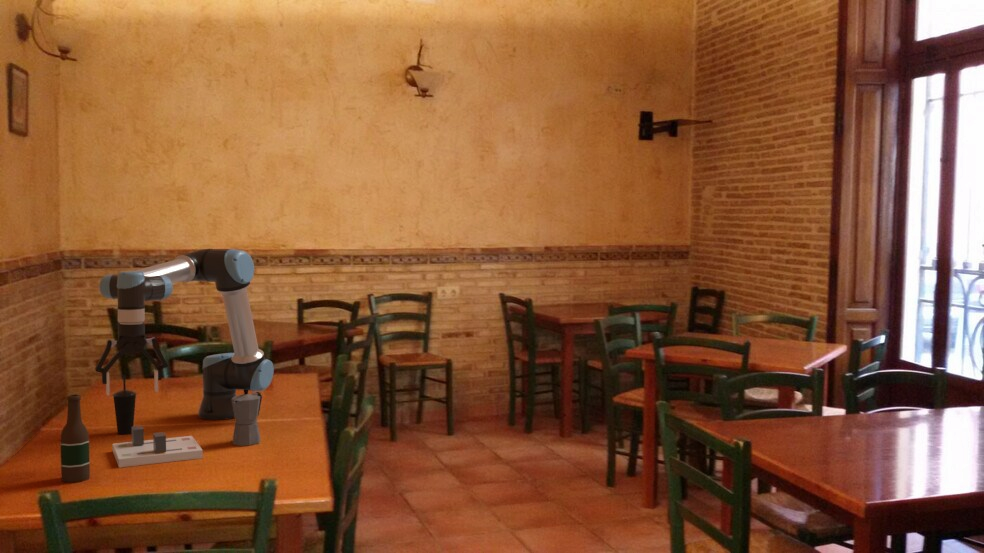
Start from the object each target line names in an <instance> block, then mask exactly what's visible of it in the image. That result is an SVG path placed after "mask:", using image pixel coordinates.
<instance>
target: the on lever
mask: <svg viewBox="0 0 984 553" xmlns="http://www.w3.org/2000/svg"><path fill="white" fill-rule="evenodd" d="M144 433H145V432H144V427H143V425H133V426H132V433H131V442H132V443H133V445H134V446H135V445H144V441H145V439H144V438H145V434H144Z"/></svg>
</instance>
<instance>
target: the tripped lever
mask: <svg viewBox="0 0 984 553" xmlns="http://www.w3.org/2000/svg"><path fill="white" fill-rule="evenodd" d="M152 436H153V439H152V440H153V447H154V451H155V453H161V452H166V438H167V436H166V434H165V432H164V431H163V432H162V431H161V432H153V433H152Z"/></svg>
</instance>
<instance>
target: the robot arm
mask: <svg viewBox="0 0 984 553" xmlns="http://www.w3.org/2000/svg"><path fill="white" fill-rule="evenodd" d="M254 272H255V264H254V261H253V259H252V256H251V255H250V254H249V253H248V252H246V251H245V250H242V249H236V248H230V249H229V248H228V249H227V248H221V249H220V248H204V249H199V250H194V251H191V252H186V253H183V254H180V255H178V256H176V257H175V258H174V259H173V260H170V261H167V262H166V261H165V262H163V263H159V264H154V265H151V266H148V267H143V268H140V269H136V270H135V269H134V270H129V271H128V270H127V271H126V270H125V271H124V270H123V271H120V272H118V274H113V273H112V274H106V275H104V276H103V277H101V279H100V281H99V285H98V287H99V292H100V294H101V296H102V297H104V298H106V299H113V300H115V299H116V300H117V322H118V325H117V339H116V340H112V339H110V338H109V339H107V340H106V345H105V348H104V350H103V352H102V354H101V356H100V358H99V360H98V362H97V364H96V366H95V368H94V369H95V370H94V371H95V372H96V373H101V383H102V385H105V395H106V396H110V394H111V391H110V388H111V386H110V385H111V384H110V383H111V382H110V372H109V370H110V369H111V368H112V367H113V366H114V365H115V363H116V362H117V361H118V360H119V359H120V358H121V356H123V355H124V354H125V355H131V354H133V355H135V354H136V355H138V354H140V353H141V354H142V355H143V356H144V357H146V358H147V360H149V362H151V364H152V365H153V366H154V367H155V368H156V369H153V372H154V373H153V374H154V375H153V376H154V377H153V378H154V381H153V382H154V385H153V386H154V392H155V393H159V381H162V379H163V376H162V375H163V372H162V370H163V369H165V368H168V367H169V364H168V362H167V361H166V359H165V357H164V355H163V354H162V352H161V350H160V348H159V346H158V342H157V339H156V338H155V337H154V336H153V337H151V338H146V324H145V323H144V322H145V321H146V320H145V319H146V316H145V315H146V314H145V312H146V311H145V310H146V308H145V302H151V301H162V300H165V299H168V298H170V297H171V295H172V294H173V291H174V288H173V287H174V284H175V283H179V282H181V283H189V282H206V283H207V282H210V283H215V287H216V288H215V289H216V291H217V292H219V293H220V294H222V298H223V304H224V310H225V315H226V318H227V319H226V320H227V324H228V328H229V333H230V337H231V343H232V348H233V352H224V353H218V354H212V355H207V356H205V357H204V358H203V360H202V385H203V386H202V391H203V393H202V399H201V402H200V405H199V409H198V418H199V419H202V420H208V421H220V420H229V419H231V420H232V419H235V418H234V411H233V405H232V398H233V397H235V396H237V395H236V393H237V390H239V391H244V389H249V390H248V392H249V391H251V392H263V391H265V390H266V389H268V387H269V386H270V385H271V383H272V380H273V377H274V371H275V370H274V363H273V362H272V361H271V360H270V359H267V358H265V352H264V351H263V350H262V349H260V348H259V345H258V339H257V334H256V330H255V329H256V328H255V325H254V324H255V323H254V318H253V313H252V310H251V309H252V308H251V304H250V298H249V294H248V289H249V287H250V285H251V281H252V279H253V278H254V276H255V273H254ZM147 344H148V345H149V346H151V347H152V348H153V350H154V352H155V353H156V356H157V358H158V359H159V361H160V363H161V364H160V363H159V362H158V361H157V360H155V359H154V358H153V356H152V355H151V354H150V353H149V352H148V351H147V350H146V349H145V346H146V345H147ZM116 345H117V346H118V350H117V351H116V352H115V354H114V355H113V356H112V357H111V358H110V360H108V362H107V363H106V364H105V365H104V363H105V361H106V360H107V357H108V355H109V354H110V352H111V350H112V348H114V347H115V346H116ZM103 365H104V367H103Z"/></svg>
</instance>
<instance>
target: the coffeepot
mask: <svg viewBox="0 0 984 553" xmlns="http://www.w3.org/2000/svg"><path fill="white" fill-rule="evenodd" d="M262 399H263V395H262V394H261V392H260V391H255V392H253V393H250V394H249V389H244V390H243V394H239V395H236V396H235V397H233V398H232V405H233V411H234V418H233V419H235V425H234V429H233V436H232V441H231V442H232V443H231V444H233V445H234V446H237V445H238V446H239V447H248V446H247V445H251V446H255V445H254V444H256V445H258V444H260V443H261V433H260V430H259V423H258V417H259V415H260V410H261V405H262ZM259 442H260V443H259ZM238 446H237V447H238Z"/></svg>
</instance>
